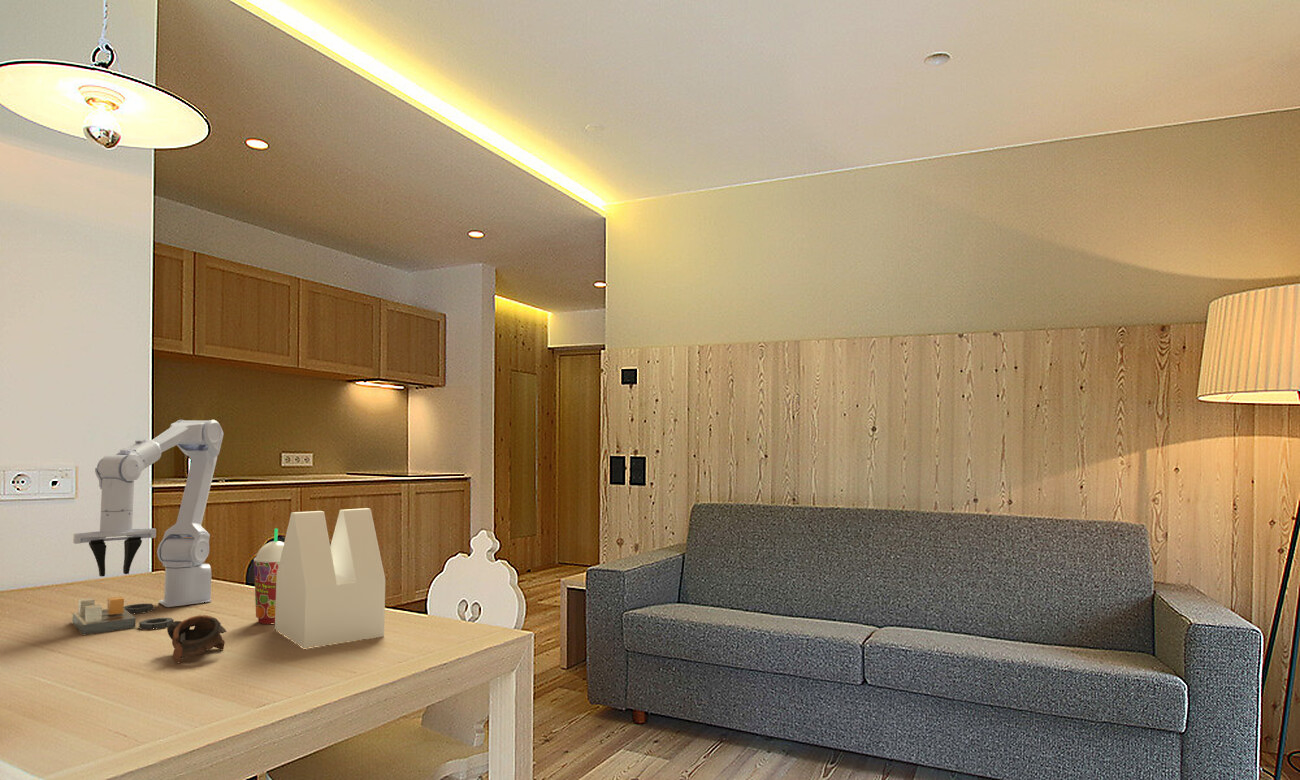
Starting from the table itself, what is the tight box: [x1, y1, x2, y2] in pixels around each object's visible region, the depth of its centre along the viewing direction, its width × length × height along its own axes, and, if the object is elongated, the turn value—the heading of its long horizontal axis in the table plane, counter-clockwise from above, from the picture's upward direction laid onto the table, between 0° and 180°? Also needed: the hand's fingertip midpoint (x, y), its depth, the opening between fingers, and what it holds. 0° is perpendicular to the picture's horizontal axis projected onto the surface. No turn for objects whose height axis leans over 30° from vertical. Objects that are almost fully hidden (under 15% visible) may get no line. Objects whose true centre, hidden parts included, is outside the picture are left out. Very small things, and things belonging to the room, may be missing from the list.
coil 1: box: [124, 603, 154, 615], centre depth 178 cm, size 6×6×1 cm
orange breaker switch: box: [106, 596, 125, 615], centre depth 167 cm, size 2×3×3 cm
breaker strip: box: [72, 597, 137, 636], centre depth 165 cm, size 9×14×5 cm, turn 43°
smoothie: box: [253, 528, 284, 625], centre depth 170 cm, size 8×8×20 cm
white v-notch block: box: [274, 507, 386, 648], centre depth 160 cm, size 19×15×25 cm
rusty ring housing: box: [166, 614, 227, 663], centre depth 143 cm, size 12×10×8 cm
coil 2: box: [138, 617, 174, 630], centre depth 164 cm, size 6×6×1 cm
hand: (114, 574), depth 167 cm, fingers open, 4 cm apart
